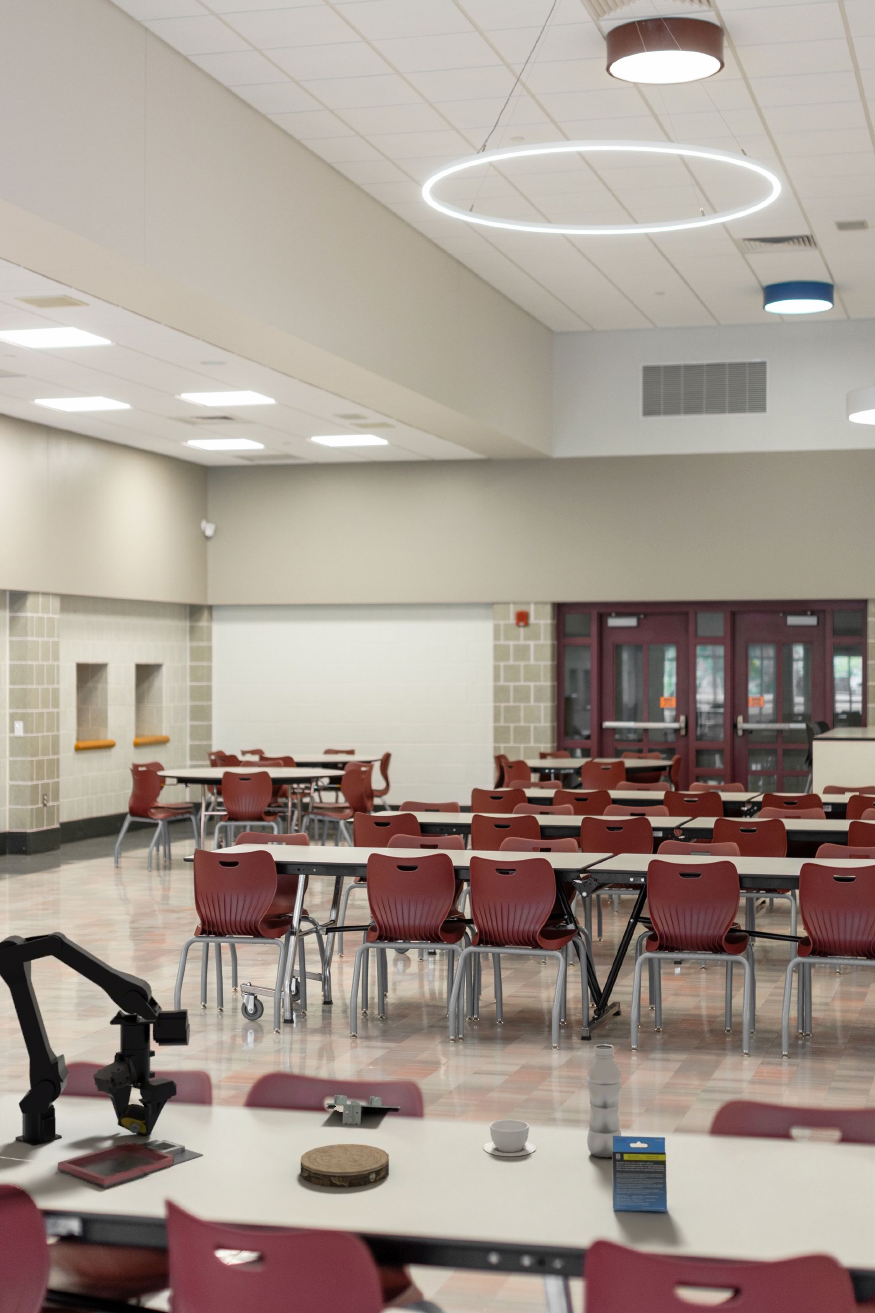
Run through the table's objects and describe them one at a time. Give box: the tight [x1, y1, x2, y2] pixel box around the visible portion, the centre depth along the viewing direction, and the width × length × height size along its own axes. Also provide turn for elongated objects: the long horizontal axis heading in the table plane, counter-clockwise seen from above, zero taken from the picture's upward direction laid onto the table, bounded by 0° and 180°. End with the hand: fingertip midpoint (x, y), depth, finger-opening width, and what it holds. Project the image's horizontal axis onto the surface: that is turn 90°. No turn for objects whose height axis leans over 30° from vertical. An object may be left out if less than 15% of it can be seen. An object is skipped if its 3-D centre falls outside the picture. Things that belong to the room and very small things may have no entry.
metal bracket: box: [325, 1094, 401, 1125], centre depth 296 cm, size 14×6×15 cm
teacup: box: [482, 1119, 537, 1157], centre depth 275 cm, size 10×10×5 cm
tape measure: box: [117, 1103, 152, 1137], centre depth 282 cm, size 7×7×4 cm
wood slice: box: [300, 1143, 390, 1189], centre depth 262 cm, size 16×16×3 cm
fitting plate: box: [57, 1139, 204, 1190], centre depth 267 cm, size 14×22×2 cm, turn 139°
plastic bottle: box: [586, 1044, 622, 1158], centre depth 271 cm, size 6×7×20 cm
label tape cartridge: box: [611, 1135, 668, 1213], centre depth 243 cm, size 9×4×12 cm, turn 83°
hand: (135, 1128), depth 282 cm, fingers closed on tape measure, 8 cm apart
